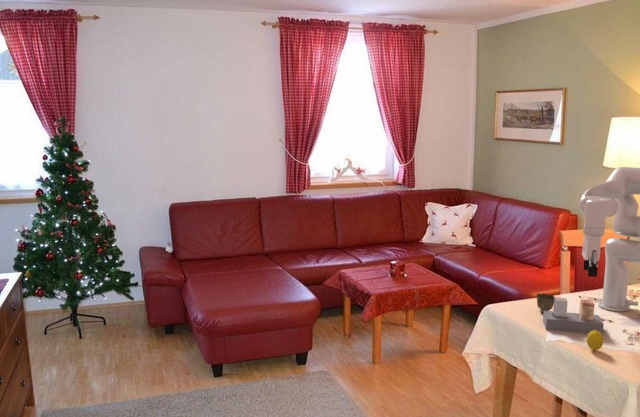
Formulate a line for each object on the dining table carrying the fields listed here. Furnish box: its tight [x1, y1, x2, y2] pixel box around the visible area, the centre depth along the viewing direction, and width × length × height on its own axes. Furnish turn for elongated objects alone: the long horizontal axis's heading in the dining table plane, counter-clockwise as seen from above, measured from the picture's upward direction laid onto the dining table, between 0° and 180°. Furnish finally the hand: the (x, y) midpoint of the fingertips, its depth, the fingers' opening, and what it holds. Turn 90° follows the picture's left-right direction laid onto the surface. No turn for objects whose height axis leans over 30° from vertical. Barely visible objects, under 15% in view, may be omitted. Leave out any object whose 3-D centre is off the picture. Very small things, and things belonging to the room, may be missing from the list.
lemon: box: [586, 330, 604, 352], centre depth 215 cm, size 6×6×8 cm
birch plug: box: [578, 298, 596, 321], centre depth 235 cm, size 4×4×12 cm
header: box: [542, 310, 604, 336], centre depth 237 cm, size 21×10×5 cm, turn 76°
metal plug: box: [552, 296, 568, 319], centre depth 237 cm, size 4×4×12 cm
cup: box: [536, 292, 555, 314], centre depth 255 cm, size 8×7×8 cm
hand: (589, 273), depth 232 cm, fingers open, 9 cm apart
